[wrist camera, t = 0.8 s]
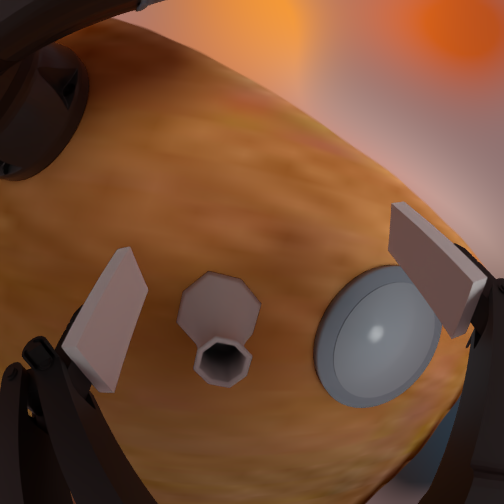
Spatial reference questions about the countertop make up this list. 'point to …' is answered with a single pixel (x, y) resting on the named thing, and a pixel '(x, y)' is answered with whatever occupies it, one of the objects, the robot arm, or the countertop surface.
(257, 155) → the countertop surface
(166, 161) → the countertop surface
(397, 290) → the dish
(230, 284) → the flask
